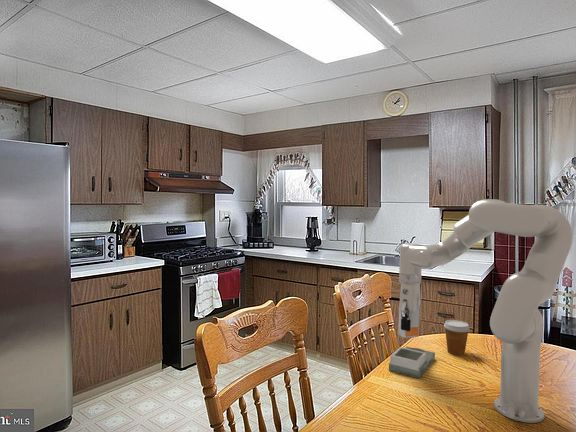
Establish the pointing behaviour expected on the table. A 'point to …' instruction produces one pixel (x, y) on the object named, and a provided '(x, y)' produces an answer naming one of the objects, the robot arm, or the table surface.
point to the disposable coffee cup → (456, 336)
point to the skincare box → (414, 324)
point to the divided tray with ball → (411, 361)
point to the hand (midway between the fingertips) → (409, 326)
